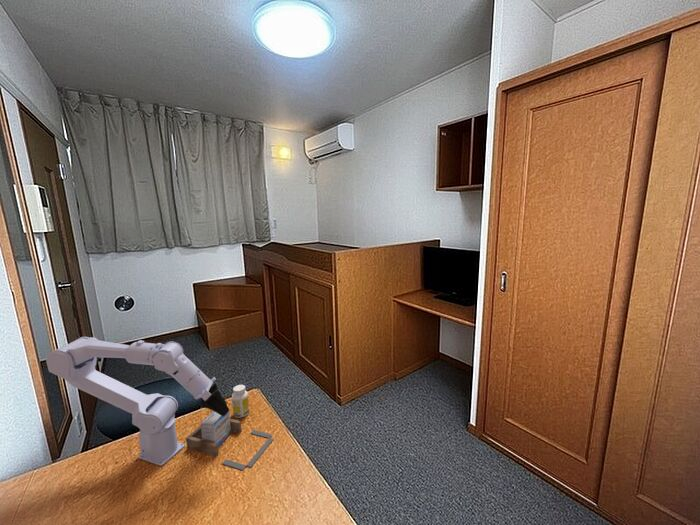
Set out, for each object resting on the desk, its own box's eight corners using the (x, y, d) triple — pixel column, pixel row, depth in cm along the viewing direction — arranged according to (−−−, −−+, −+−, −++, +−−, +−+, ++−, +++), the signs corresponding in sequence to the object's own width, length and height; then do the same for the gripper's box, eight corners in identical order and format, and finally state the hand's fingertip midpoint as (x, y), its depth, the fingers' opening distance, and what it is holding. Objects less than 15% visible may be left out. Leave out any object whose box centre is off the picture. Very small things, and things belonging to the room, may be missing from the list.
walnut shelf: (187, 448, 90) (186, 438, 90) (214, 424, 101) (214, 414, 100) (215, 457, 87) (214, 446, 86) (241, 431, 97) (240, 421, 97)
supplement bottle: (248, 406, 109) (246, 382, 108) (250, 415, 105) (248, 390, 103) (232, 410, 107) (230, 385, 106) (233, 420, 102) (231, 393, 101)
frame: (222, 464, 84) (222, 463, 84) (253, 430, 97) (253, 429, 97) (247, 472, 82) (247, 471, 81) (276, 436, 95) (276, 435, 95)
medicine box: (216, 451, 89) (213, 424, 88) (202, 448, 90) (200, 422, 89) (231, 432, 97) (229, 407, 95) (219, 430, 98) (216, 406, 96)
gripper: (203, 369, 81) (239, 403, 83) (203, 364, 94) (233, 393, 96) (180, 391, 78) (218, 426, 80) (183, 382, 90) (215, 413, 93)
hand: (225, 409), depth 88 cm, fingers open, 7 cm apart
